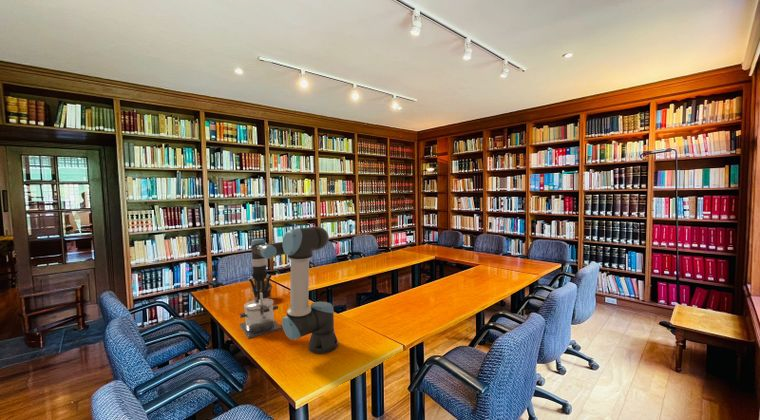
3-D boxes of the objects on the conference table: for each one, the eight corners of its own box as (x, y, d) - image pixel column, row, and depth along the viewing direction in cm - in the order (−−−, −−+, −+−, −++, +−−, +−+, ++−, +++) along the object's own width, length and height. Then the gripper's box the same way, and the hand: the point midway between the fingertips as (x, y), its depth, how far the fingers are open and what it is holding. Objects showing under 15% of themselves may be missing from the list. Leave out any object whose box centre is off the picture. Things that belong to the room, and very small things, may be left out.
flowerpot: (276, 296, 243) (274, 271, 242) (267, 303, 228) (265, 277, 227) (258, 296, 245) (257, 271, 244) (248, 303, 230) (247, 277, 228)
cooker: (284, 328, 186) (283, 305, 185) (245, 339, 173) (244, 315, 172) (272, 316, 204) (271, 296, 203) (236, 326, 191) (235, 304, 190)
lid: (281, 308, 179) (280, 302, 179) (251, 315, 170) (250, 309, 170) (268, 299, 199) (268, 293, 199) (241, 305, 189) (241, 299, 189)
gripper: (268, 262, 189) (270, 300, 190) (246, 265, 181) (248, 305, 182) (272, 264, 183) (274, 303, 184) (249, 268, 175) (251, 308, 176)
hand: (261, 304), depth 183 cm, fingers closed
